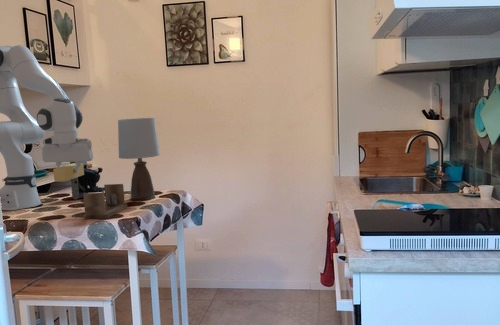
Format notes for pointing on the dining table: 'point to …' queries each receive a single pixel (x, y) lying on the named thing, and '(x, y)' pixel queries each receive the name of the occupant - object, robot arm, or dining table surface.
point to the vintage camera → (86, 182)
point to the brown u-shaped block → (96, 202)
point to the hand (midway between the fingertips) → (69, 172)
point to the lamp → (139, 152)
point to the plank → (67, 172)
